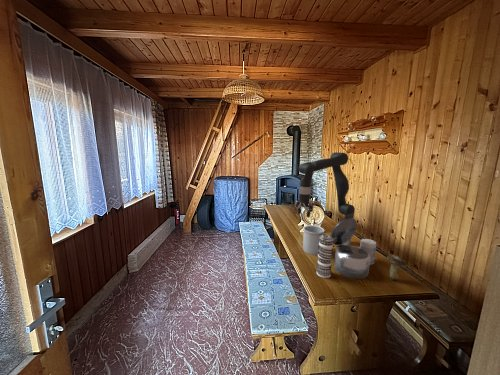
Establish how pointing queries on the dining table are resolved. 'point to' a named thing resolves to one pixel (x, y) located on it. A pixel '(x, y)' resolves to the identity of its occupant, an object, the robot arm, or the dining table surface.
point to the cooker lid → (344, 230)
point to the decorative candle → (325, 256)
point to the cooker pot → (352, 261)
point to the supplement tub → (369, 248)
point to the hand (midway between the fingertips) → (303, 215)
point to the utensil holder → (312, 239)
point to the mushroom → (395, 265)
